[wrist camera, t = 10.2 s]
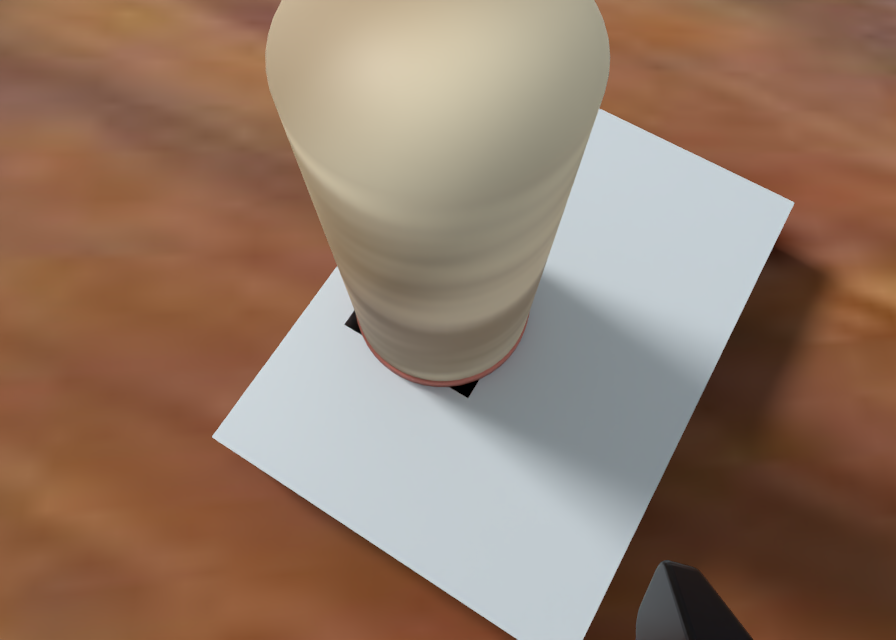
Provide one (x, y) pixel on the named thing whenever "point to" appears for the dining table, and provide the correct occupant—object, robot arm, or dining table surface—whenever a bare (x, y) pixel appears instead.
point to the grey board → (530, 394)
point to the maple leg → (439, 160)
